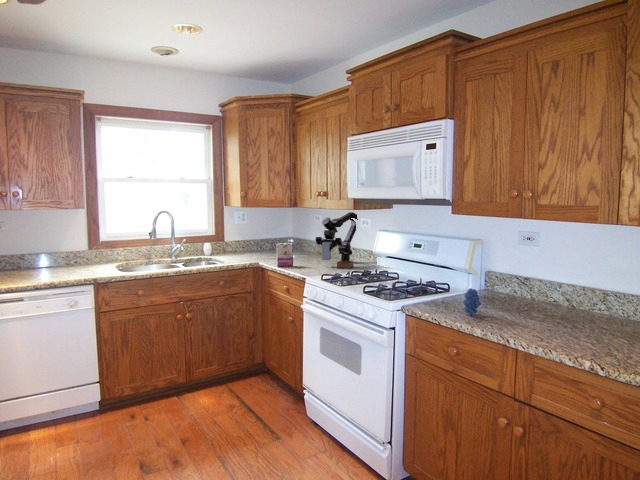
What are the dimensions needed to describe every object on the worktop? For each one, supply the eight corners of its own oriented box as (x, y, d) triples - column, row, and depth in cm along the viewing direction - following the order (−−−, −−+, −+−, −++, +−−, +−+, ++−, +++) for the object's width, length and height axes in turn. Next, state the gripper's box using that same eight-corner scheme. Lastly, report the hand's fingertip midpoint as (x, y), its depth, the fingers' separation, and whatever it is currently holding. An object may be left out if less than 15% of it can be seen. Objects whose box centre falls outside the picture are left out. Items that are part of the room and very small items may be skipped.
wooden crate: (340, 266, 318) (340, 260, 318) (353, 266, 315) (353, 261, 315) (336, 268, 310) (336, 262, 309) (349, 268, 306) (349, 263, 306)
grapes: (474, 320, 183) (475, 291, 182) (458, 316, 188) (460, 289, 187) (486, 315, 191) (488, 287, 190) (471, 312, 196) (473, 285, 195)
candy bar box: (291, 265, 318) (291, 242, 317) (293, 266, 314) (293, 243, 312) (276, 266, 315) (276, 243, 314) (277, 267, 311) (277, 243, 309)
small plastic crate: (324, 258, 316) (324, 242, 314) (331, 259, 314) (331, 242, 313) (322, 259, 311) (322, 242, 310) (328, 260, 309) (328, 243, 308)
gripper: (316, 225, 317) (310, 242, 308) (341, 226, 311) (336, 243, 301) (320, 235, 325) (314, 252, 316) (344, 236, 319) (339, 253, 310)
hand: (326, 250), depth 311 cm, fingers closed on small plastic crate, 5 cm apart
